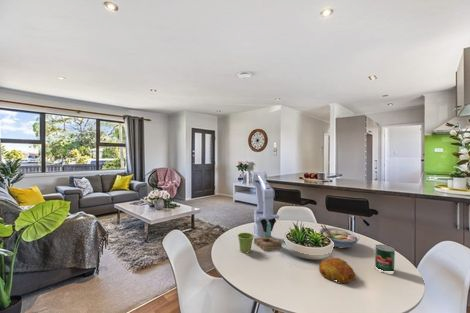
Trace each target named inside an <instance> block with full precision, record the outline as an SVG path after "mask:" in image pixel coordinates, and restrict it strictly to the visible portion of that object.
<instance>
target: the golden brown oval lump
mask: <svg viewBox="0 0 470 313" xmlns="http://www.w3.org/2000/svg"><path fill="white" fill-rule="evenodd" d="M318 268H319V269H318V271H319V273H320V275H321V276H322V277H324V279H325V278H326V279H328V280H329V279H331V280H330V281H332V280H337V282H336V283H338V282H340V283H339V284H347V283H346V282H348V283H350V282H349V281H351V282H352V281H354V280H355V278H356V273H355V271H354V269H353V267H351V265H350V264H348V262H347V261H345V260H343V259H341V258H338V257H330V258H326V259H324V260H322V261H320V262H319V267H318Z"/></svg>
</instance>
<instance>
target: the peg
mask: <svg viewBox="0 0 470 313" xmlns="http://www.w3.org/2000/svg"><path fill="white" fill-rule="evenodd" d="M271 236H272V231H271V223H267V228H266V232H265V237H266V238H270V237H271Z"/></svg>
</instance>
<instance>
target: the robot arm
mask: <svg viewBox="0 0 470 313" xmlns="http://www.w3.org/2000/svg"><path fill="white" fill-rule="evenodd" d="M267 179H268V174H267V172H266V171H253V172H252V173H251V182H252V185H253V186H255V194H256V196H255V197H256V205H257V209H255V210H254V212H253V221H254V224H253V233H252V234H253V235H254V237H255V238H259V237H265V232H266V228H267V223H271V232H273V229H274V226H275V223H276V222H277V219H278V220H279V219H280V215H279V214H274V200H275V196H276V193H275V189H274V188H271V185H270V183H269V182H268V180H267Z"/></svg>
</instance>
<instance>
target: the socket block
mask: <svg viewBox="0 0 470 313" xmlns="http://www.w3.org/2000/svg"><path fill="white" fill-rule="evenodd" d="M253 244H254V245H255V246H257V247H259V248H260V249H261V250H262V251H263V252H265V251H266V252H267V251H271V250H277V249H282V242H281V241H280V240H278V239H276V238H275V237H273V236H272V235H271V237H270V238H266V237H259V238H257V237H254V238H253Z"/></svg>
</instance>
